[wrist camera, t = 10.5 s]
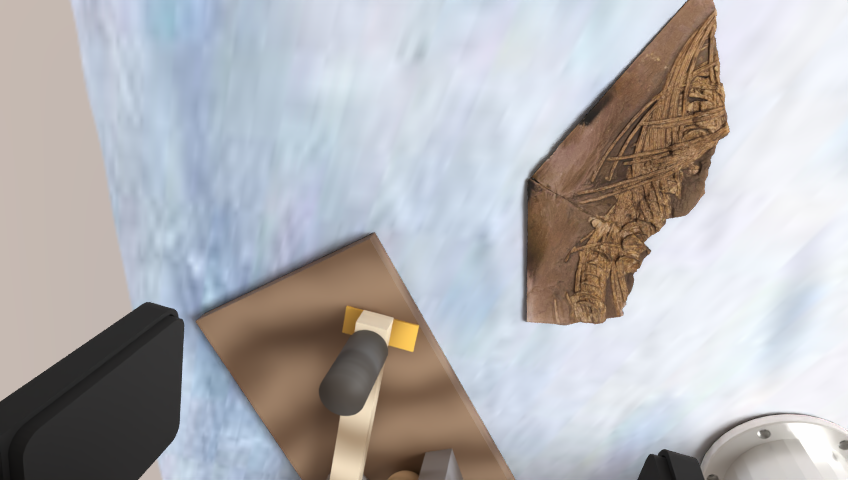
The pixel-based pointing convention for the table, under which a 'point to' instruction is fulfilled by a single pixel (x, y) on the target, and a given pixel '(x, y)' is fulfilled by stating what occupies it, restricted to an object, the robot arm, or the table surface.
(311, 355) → the press board
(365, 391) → the lever
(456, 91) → the table surface
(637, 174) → the wooden fragment
